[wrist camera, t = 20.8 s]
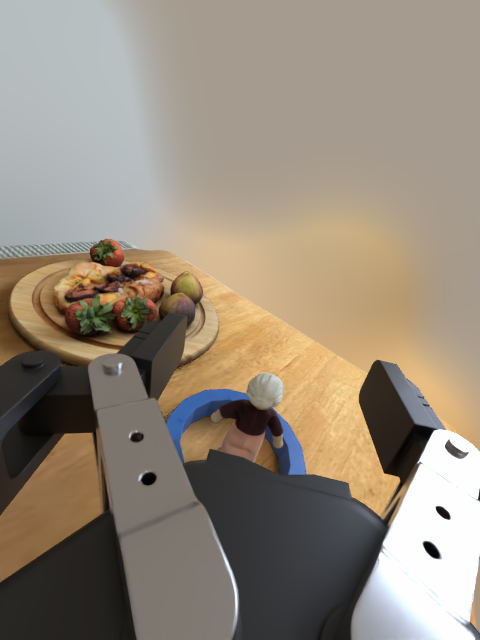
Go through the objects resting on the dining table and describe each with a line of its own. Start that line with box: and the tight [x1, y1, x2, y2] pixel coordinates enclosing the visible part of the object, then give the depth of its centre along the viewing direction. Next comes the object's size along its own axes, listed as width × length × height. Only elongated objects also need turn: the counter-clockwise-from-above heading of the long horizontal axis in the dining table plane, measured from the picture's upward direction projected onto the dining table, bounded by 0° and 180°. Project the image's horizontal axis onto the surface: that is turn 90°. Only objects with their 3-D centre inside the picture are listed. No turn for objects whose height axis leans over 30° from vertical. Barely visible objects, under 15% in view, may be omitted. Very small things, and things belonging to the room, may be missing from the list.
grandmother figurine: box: [211, 373, 283, 463], centre depth 29 cm, size 8×4×13 cm, turn 91°
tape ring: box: [166, 389, 306, 475], centre depth 31 cm, size 16×16×3 cm
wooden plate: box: [8, 239, 219, 367], centre depth 47 cm, size 32×32×8 cm
